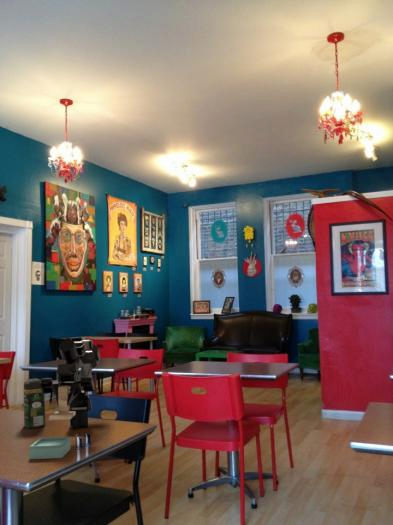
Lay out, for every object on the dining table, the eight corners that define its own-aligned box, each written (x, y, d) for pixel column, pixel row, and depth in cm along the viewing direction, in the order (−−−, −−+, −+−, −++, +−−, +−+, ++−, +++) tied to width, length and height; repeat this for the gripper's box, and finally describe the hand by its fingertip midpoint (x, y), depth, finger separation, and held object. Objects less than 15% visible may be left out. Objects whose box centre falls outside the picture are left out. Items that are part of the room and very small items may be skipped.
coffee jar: (22, 424, 197) (22, 378, 199) (42, 422, 201) (42, 376, 203) (25, 429, 189) (25, 381, 191) (46, 426, 192) (46, 379, 194)
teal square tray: (40, 449, 159) (40, 437, 160) (70, 448, 159) (70, 436, 159) (29, 459, 149) (29, 446, 150) (61, 457, 149) (61, 445, 150)
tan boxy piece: (55, 415, 172) (54, 386, 173) (75, 414, 172) (75, 385, 173) (48, 420, 164) (48, 389, 165) (70, 419, 164) (69, 388, 165)
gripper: (40, 356, 176) (30, 392, 164) (91, 354, 176) (85, 390, 164) (47, 375, 183) (38, 411, 171) (97, 373, 183) (91, 409, 171)
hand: (62, 405), depth 169 cm, fingers closed on tan boxy piece, 3 cm apart
